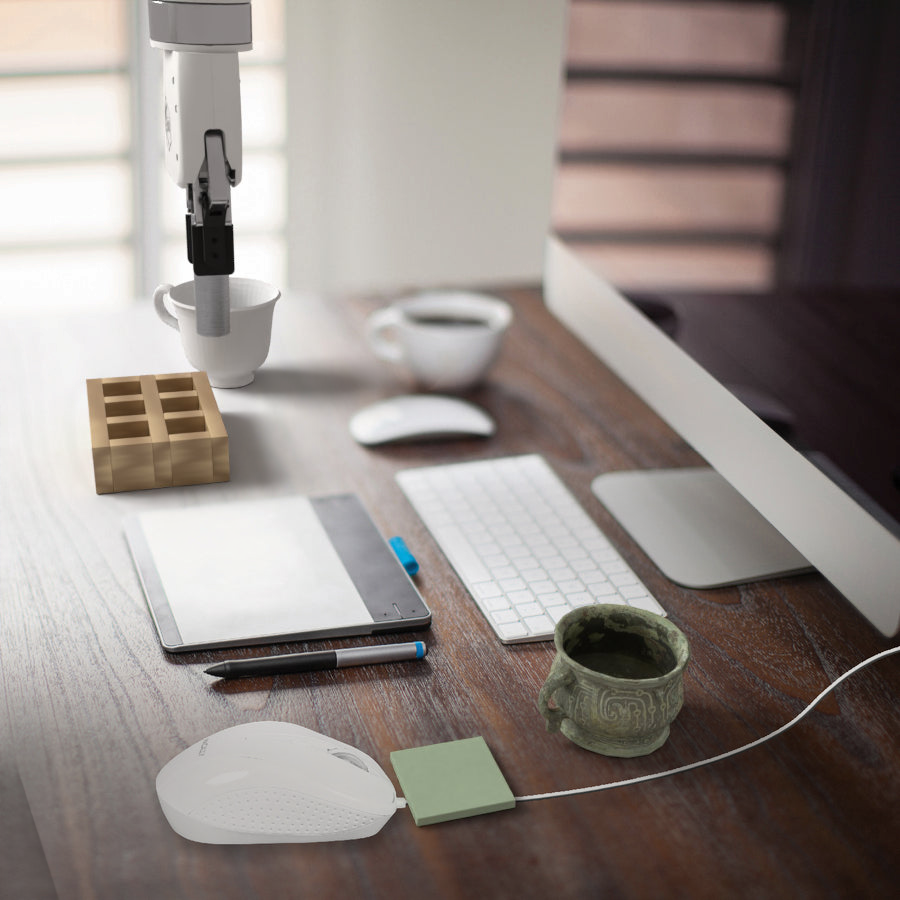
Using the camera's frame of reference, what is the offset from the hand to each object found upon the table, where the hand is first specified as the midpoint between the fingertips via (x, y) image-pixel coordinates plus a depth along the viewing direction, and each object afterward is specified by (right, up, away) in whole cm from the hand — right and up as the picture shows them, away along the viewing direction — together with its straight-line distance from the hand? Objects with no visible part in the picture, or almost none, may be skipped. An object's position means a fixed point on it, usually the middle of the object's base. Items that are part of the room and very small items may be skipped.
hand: (210, 266), depth 92 cm
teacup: (-7, -7, +35) cm, 36 cm away
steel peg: (0, -5, +2) cm, 6 cm away
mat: (+19, -35, -24) cm, 47 cm away
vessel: (+30, -33, -18) cm, 48 cm away
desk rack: (-9, -15, +17) cm, 24 cm away
